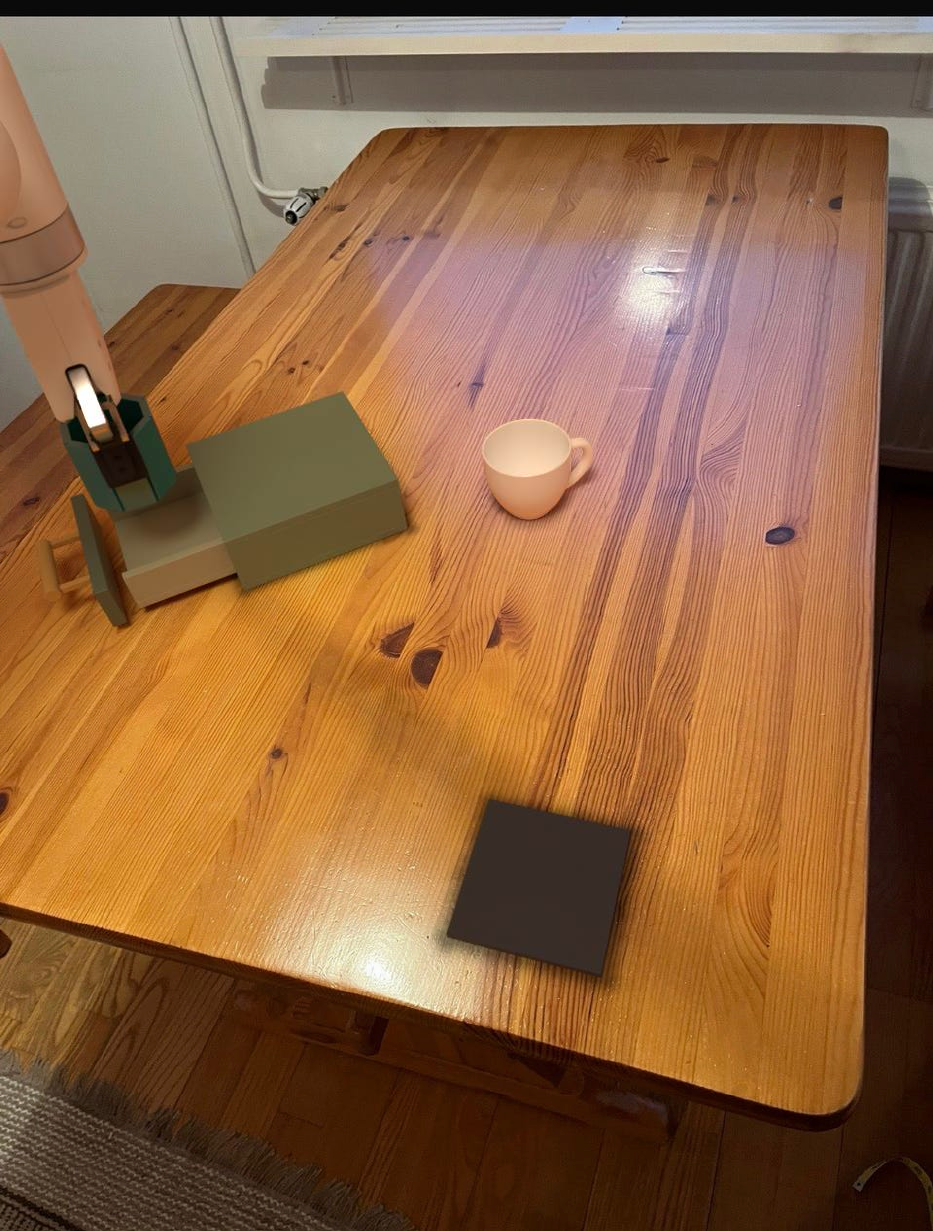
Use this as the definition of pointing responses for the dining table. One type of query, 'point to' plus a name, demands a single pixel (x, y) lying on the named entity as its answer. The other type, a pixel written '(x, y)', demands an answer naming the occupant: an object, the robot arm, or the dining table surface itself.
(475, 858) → the mat
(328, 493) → the cabinet
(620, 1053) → the dining table surface
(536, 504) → the cup
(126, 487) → the green octagonal cup
